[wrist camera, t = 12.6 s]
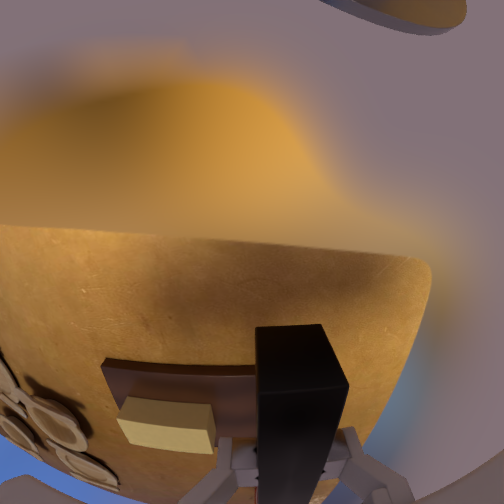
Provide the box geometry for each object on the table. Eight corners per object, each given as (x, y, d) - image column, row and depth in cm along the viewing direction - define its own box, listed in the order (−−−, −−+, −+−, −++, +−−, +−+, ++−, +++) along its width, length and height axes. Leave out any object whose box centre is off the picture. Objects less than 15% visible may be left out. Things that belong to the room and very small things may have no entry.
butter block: (127, 395, 23) (115, 418, 20) (210, 403, 23) (206, 430, 20) (138, 421, 24) (130, 443, 21) (216, 429, 24) (213, 454, 21)
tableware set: (125, 491, 33) (120, 504, 30) (20, 438, 32) (13, 448, 28) (86, 386, 25) (72, 407, 21) (-36, 316, 23) (-50, 326, 19)
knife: (284, 518, 15) (286, 546, 11) (257, 519, 15) (258, 548, 11) (321, 322, 9) (351, 385, 6) (254, 325, 9) (256, 393, 6)
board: (105, 357, 23) (99, 365, 22) (305, 362, 23) (307, 371, 22) (136, 429, 26) (133, 437, 25) (297, 435, 26) (298, 444, 25)
